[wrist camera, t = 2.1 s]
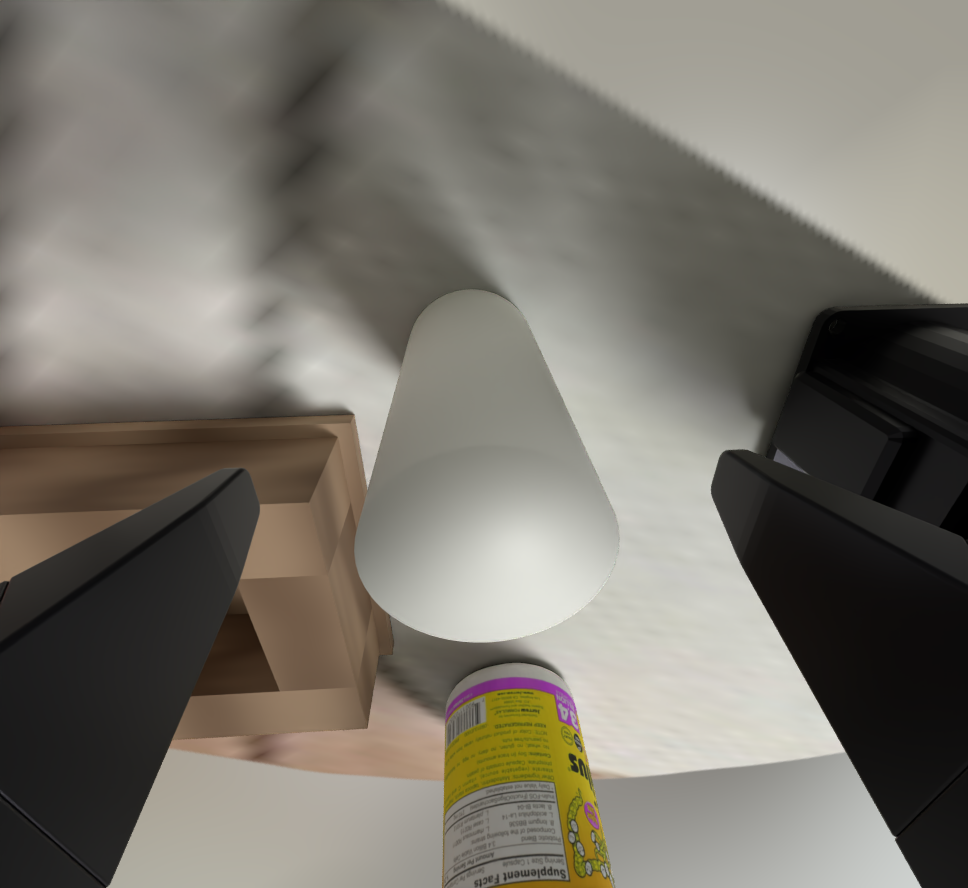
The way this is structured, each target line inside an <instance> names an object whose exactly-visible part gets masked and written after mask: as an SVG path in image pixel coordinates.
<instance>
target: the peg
mask: <svg viewBox="0 0 968 888" xmlns="http://www.w3.org/2000/svg"><path fill="white" fill-rule="evenodd" d="M618 549H619V527H618V523H617V519H616V515H615V512H614V510H613V508H612V506H611V504H610V501H609V499H608V497H607V495H606V493H605V491H604V488H603V486H602V484H601V482H600V480H599V477H598V475H597V473H596V471H595V469H594V467H593V464H592V462H591V460H590V458H589V456H588V453H587V451H586V449H585V447H584V445H583V443H582V440H581V438H580V436H579V434H578V432H577V429H576V427H575V425H574V423H573V421H572V419H571V416H570V414H569V412H568V410H567V408H566V405H565V403H564V401H563V399H562V397H561V395H560V392H559V390H558V388H557V386H556V384H555V381H554V379H553V377H552V375H551V373H550V371H549V368H548V366H547V364H546V362H545V360H544V357H543V355H542V353H541V351H540V349H539V347H538V344H537V342H536V340H535V338H534V336H533V333H532V331H531V329H530V327H529V325H528V323H527V321H526V319H525V318H524V316H523V314H522V313H521V312H520V311H519V310H518V309H517V308H516V307H515V306H514V305H513V304H512V303H511V302H509V301H508V300H506V299H505V298H503V297H501V296H499V295H497V294H494V293H491V292H488V291H483V290H476V289H467V290H459V291H455V292H451V293H449V294H446V295H444V296H442V297H440V298H438V299H436V300H435V301H434V302H432V303H431V304H430V305H428V306H427V307H426V308H425V309H424V310H423V312H422V313H421V314H420V315H419V317H418V318H417V320H416V322H415V324H414V326H413V328H412V331H411V334H410V337H409V341H408V345H407V348H406V352H405V356H404V359H403V363H402V367H401V370H400V374H399V378H398V381H397V385H396V389H395V392H394V396H393V399H392V403H391V407H390V410H389V414H388V418H387V421H386V425H385V429H384V432H383V436H382V440H381V443H380V447H379V451H378V454H377V458H376V462H375V465H374V469H373V472H372V476H371V480H370V483H369V487H368V491H367V494H366V498H365V502H364V505H363V509H362V513H361V516H360V520H359V524H358V528H357V532H356V536H355V545H354V554H355V563H356V567H357V570H358V573H359V577H360V579H361V581H362V583H363V585H364V587H365V589H366V590H367V591H368V593H369V594H370V596H371V597H372V598H373V600H374V601H375V602H376V603H377V604H378V605H379V606H380V607H381V608H382V609H383V610H385V611H386V612H387V613H388V614H389V615H391V616H392V617H393V618H395V619H397V620H398V621H400V622H401V623H403V624H405V625H407V626H409V627H411V628H413V629H415V630H417V631H420V632H423V633H425V634H428V635H431V636H435V637H439V638H443V639H448V640H454V641H461V642H498V641H506V640H512V639H517V638H522V637H525V636H529V635H533V634H536V633H538V632H541V631H544V630H547V629H549V628H551V627H553V626H555V625H557V624H559V623H561V622H563V621H565V620H566V619H568V618H570V617H571V616H573V615H574V614H576V613H577V612H578V611H580V610H581V609H582V608H584V607H585V606H586V605H587V604H588V603H589V602H590V601H591V600H592V599H593V598H594V597H595V596H596V595H597V594H598V592H599V591H600V590H601V589H602V588H603V586H604V584H605V583H606V581H607V580H608V578H609V577H610V574H611V572H612V570H613V568H614V565H615V562H616V559H617V555H618Z"/></svg>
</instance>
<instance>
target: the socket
mask: <svg viewBox="0 0 968 888" xmlns="http://www.w3.org/2000/svg"><path fill="white" fill-rule="evenodd" d="M223 468H245V469H246V470H248V472H249V473H250V475H251V478H252V481H253V485H254V488H255V491H256V494H257V497H258V500H259V503H260V515H259V518H258V522H257V525H256V529H255V532H254V535H253V539H252V542H251V545H250V549H249V552H248V555H247V559H246V562H245V566H244V569H243V572H242V575H241V578H240V581H239V584H238V587H237V590H236V592H235V595H234V597H233V599H232V602H231V604H230V606H229V609H228V611H227V613H226V616H225V618H224V620H223V623H222V625H221V627H220V630H219V632H218V634H217V637H216V639H215V641H214V644H213V646H212V648H211V651H210V653H209V655H208V658H207V660H206V662H205V664H204V667H203V669H202V671H201V674H200V676H199V678H198V681H197V683H196V685H195V688H194V690H193V692H192V695H191V697H190V699H189V702H188V704H187V706H186V709H185V711H184V713H183V716H182V718H181V720H180V723H179V725H178V727H177V730H176V732H175V734H174V737H173V739H172V740H181V739H198V738H215V737H232V736H249V735H266V734H283V733H300V732H317V731H333V730H350V729H367V728H368V721H369V715H370V709H371V702H372V696H373V690H374V684H375V677H376V671H377V665H378V658H379V655H393V647H394V640H393V634H392V629H391V623H390V617H389V614H388V613H387V612H386V611H385V610H383V609H382V608H381V607H380V606H379V605H378V604H377V603H376V602H375V601H374V600H373V598H372V597H371V596H370V594H369V593H368V591H367V590H366V589H365V587H364V585H363V583H362V581H361V579H360V577H359V573H358V570H357V567H356V563H355V554H354V545H355V536H356V532H357V528H358V524H359V520H360V516H361V513H362V509H363V505H364V502H365V498H366V494H367V485H366V479H365V473H364V468H363V462H362V456H361V450H360V445H359V439H358V433H357V427H356V422H355V416H354V415H330V416H301V417H272V418H242V419H213V420H184V421H154V422H125V423H95V424H66V425H37V426H7V427H0V583H1V582H3V581H10V579H11V578H12V577H13V576H15V575H17V574H19V573H21V572H23V571H25V570H27V569H29V568H30V567H32V566H34V565H36V564H38V563H40V562H42V561H44V560H46V559H48V558H50V557H52V556H54V555H56V554H58V553H59V552H61V551H63V550H65V549H67V548H69V547H71V546H73V545H75V544H77V543H79V542H81V541H83V540H85V539H86V538H88V537H90V536H92V535H94V534H96V533H98V532H100V531H102V530H104V529H106V528H108V527H110V526H112V525H114V524H115V523H117V522H119V521H121V520H123V519H125V518H127V517H129V516H131V515H133V514H135V513H137V512H139V511H141V510H143V509H144V508H146V507H148V506H150V505H152V504H154V503H156V502H158V501H160V500H162V499H164V498H166V497H168V496H170V495H172V494H173V493H175V492H177V491H179V490H181V489H183V488H185V487H187V486H189V485H191V484H193V483H195V482H197V481H199V480H201V479H202V478H204V477H206V476H208V475H210V474H212V473H214V472H216V471H218V470H220V469H223Z"/></svg>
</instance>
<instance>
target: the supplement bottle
mask: <svg viewBox="0 0 968 888" xmlns="http://www.w3.org/2000/svg"><path fill="white" fill-rule="evenodd" d="M442 881H443V882H442V888H616V887H615V882H614V878H613V873H612V869H611V864H610V860H609V855H608V851H607V846H606V841H605V837H604V833H603V828H602V823H601V819H600V815H599V811H598V806H597V801H596V796H595V791H594V787H593V782H592V778H591V773H590V769H589V763H588V759H587V755H586V751H585V746H584V742H583V737H582V733H581V728H580V724H579V720H578V715H577V711H576V707H575V703H574V699H573V696H572V693H571V691H570V689H569V687H568V685H567V684H566V683H565V682H564V680H563V679H562V678H560V677H559V676H558V675H557V674H555V673H554V672H552V671H550V670H548V669H546V668H543V667H540V666H536V665H532V664H525V663H507V664H501V665H495V666H491V667H487V668H484V669H481V670H478V671H476V672H474V673H472V674H470V675H469V676H467V677H466V678H464V679H463V680H462V681H460V682H459V683H458V684H457V685H456V687H455V688H454V689H453V691H452V692H451V694H450V696H449V698H448V701H447V705H446V716H445V768H444V820H443V876H442Z"/></svg>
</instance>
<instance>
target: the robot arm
mask: <svg viewBox="0 0 968 888" xmlns="http://www.w3.org/2000/svg"><path fill="white" fill-rule="evenodd" d="M835 320H837V323H836V325H835V326H834V327H833V328H832V329H831V330H829V327H830V325H831V323H832V322H834V321H835ZM711 494H712V498H713V501H714V503H715V505H716V508H717V510H718V513H719V515H720V517H721V520H722V522H723V524H724V527H725V529H726V531H727V534H728V536H729V539H730V541H731V543H732V546H733V548H734V550H735V553H736V555H737V557H738V559H739V561H740V563H741V565H742V567H743V569H744V571H745V573H746V575H747V577H748V578H749V580H750V582H751V584H752V586H753V587H754V589H755V591H756V593H757V594H758V596H759V598H760V600H761V602H762V603H763V605H764V607H765V609H766V611H767V612H768V614H769V616H770V618H771V619H772V621H773V623H774V625H775V627H776V628H777V630H778V632H779V634H780V635H781V637H782V639H783V641H784V643H785V644H786V646H787V648H788V650H789V651H790V653H791V655H792V657H793V659H794V660H795V662H796V664H797V666H798V668H799V669H800V671H801V673H802V675H803V676H804V678H805V680H806V682H807V684H808V685H809V687H810V689H811V691H812V692H813V694H814V696H815V698H816V700H817V701H818V703H819V705H820V707H821V709H822V710H823V712H824V714H825V716H826V717H827V719H828V721H829V723H830V725H831V726H832V728H833V730H834V732H835V733H836V735H837V737H838V739H839V741H840V742H841V744H842V746H843V748H844V750H845V751H846V753H847V755H848V757H849V758H850V760H851V762H852V764H853V765H854V767H855V769H856V771H857V773H858V774H859V776H860V778H861V780H862V782H863V783H864V785H865V787H866V789H867V791H868V792H869V794H870V796H871V798H872V799H873V801H874V803H875V804H876V806H877V808H878V810H879V812H880V814H881V815H882V817H883V819H884V821H885V823H886V824H887V826H888V828H889V830H890V831H891V833H892V835H893V836H895V837H896V838H895V841H896V843H897V845H898V846H899V848H900V850H901V852H902V854H903V855H904V857H905V859H906V861H907V862H908V864H909V866H910V868H911V870H912V871H913V873H914V875H915V877H916V878H917V880H918V882H919V884H920V886H921V887H922V888H968V304H930V305H892V306H854V307H832V308H828V309H826V310H824V311H823V312H821V313H820V314H819V315H818V316H817V317H816V319H815V321H814V323H813V325H812V328H811V331H810V334H809V337H808V339H807V342H806V345H805V348H804V351H803V354H802V356H801V359H800V362H799V365H798V368H797V371H796V373H795V376H794V379H793V382H792V385H791V388H790V390H789V393H788V396H787V399H786V402H785V405H784V407H783V410H782V413H781V416H780V419H779V422H778V424H777V427H776V430H775V433H774V436H773V439H772V441H771V444H770V447H769V450H768V453H767V456H766V457H764V456H761V455H759V454H756V453H754V452H751V451H749V450H743V449H742V450H726V451H724V452H723V453H722V454H721V455H720V457H719V460H718V464H717V467H716V471H715V474H714V478H713V481H712V485H711ZM259 515H260V503H259V500H258V497H257V494H256V491H255V488H254V485H253V481H252V478H251V475H250V473H249V472H248V470H246V469H245V468H223V469H220V470H218V471H216V472H214V473H212V474H210V475H208V476H206V477H204V478H202V479H201V480H199V481H197V482H195V483H193V484H191V485H189V486H187V487H185V488H183V489H181V490H179V491H177V492H175V493H173V494H172V495H170V496H168V497H166V498H164V499H162V500H160V501H158V502H156V503H154V504H152V505H150V506H148V507H146V508H144V509H143V510H141V511H139V512H137V513H135V514H133V515H131V516H129V517H127V518H125V519H123V520H121V521H119V522H117V523H115V524H114V525H112V526H110V527H108V528H106V529H104V530H102V531H100V532H98V533H96V534H94V535H92V536H90V537H88V538H86V539H85V540H83V541H81V542H79V543H77V544H75V545H73V546H71V547H69V548H67V549H65V550H63V551H61V552H59V553H58V554H56V555H54V556H52V557H50V558H48V559H46V560H44V561H42V562H40V563H38V564H36V565H34V566H32V567H30V568H29V569H27V570H25V571H23V572H21V573H19V574H17V575H15V576H13V577H12V578H11V579H10V581H3V582H1V583H0V888H106V887H108V886H109V885H110V883H111V880H112V878H113V876H114V874H115V871H116V869H117V867H118V865H119V862H120V860H121V858H122V855H123V853H124V850H125V848H126V846H127V844H128V841H129V839H130V837H131V834H132V832H133V830H134V827H135V825H136V823H137V820H138V818H139V815H140V813H141V811H142V809H143V806H144V804H145V802H146V799H147V797H148V795H149V792H150V790H151V788H152V785H153V783H154V780H155V778H156V776H157V773H158V771H159V769H160V767H161V765H162V762H163V760H164V758H165V755H166V753H167V751H168V748H169V746H170V744H171V741H172V739H173V737H174V734H175V732H176V730H177V727H178V725H179V723H180V720H181V718H182V716H183V713H184V711H185V709H186V706H187V704H188V702H189V699H190V697H191V695H192V692H193V690H194V688H195V685H196V683H197V681H198V678H199V676H200V674H201V671H202V669H203V667H204V664H205V662H206V660H207V658H208V655H209V653H210V651H211V648H212V646H213V644H214V641H215V639H216V637H217V634H218V632H219V630H220V627H221V625H222V623H223V620H224V618H225V616H226V613H227V611H228V609H229V606H230V604H231V602H232V599H233V597H234V595H235V592H236V590H237V587H238V584H239V581H240V578H241V575H242V572H243V569H244V566H245V562H246V559H247V555H248V552H249V549H250V545H251V542H252V539H253V535H254V532H255V529H256V525H257V522H258V518H259Z"/></svg>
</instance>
